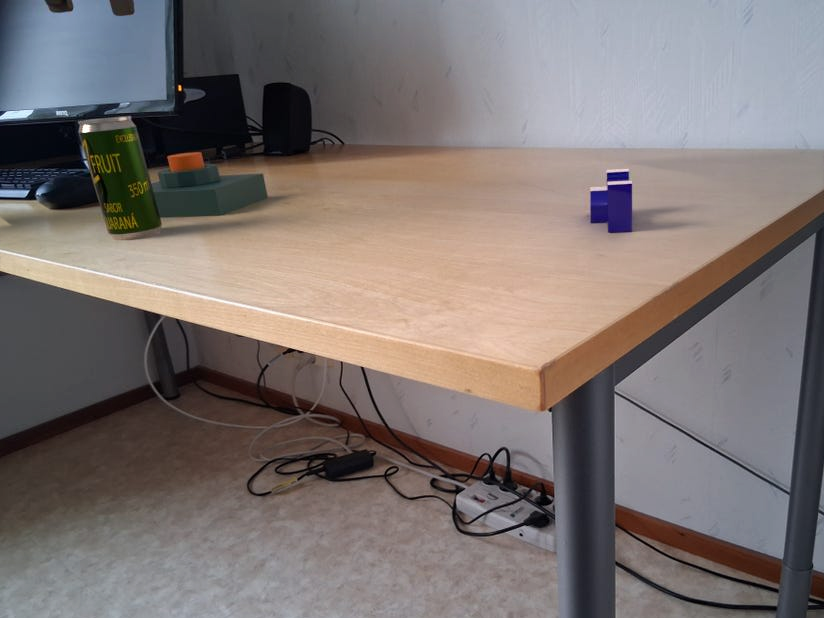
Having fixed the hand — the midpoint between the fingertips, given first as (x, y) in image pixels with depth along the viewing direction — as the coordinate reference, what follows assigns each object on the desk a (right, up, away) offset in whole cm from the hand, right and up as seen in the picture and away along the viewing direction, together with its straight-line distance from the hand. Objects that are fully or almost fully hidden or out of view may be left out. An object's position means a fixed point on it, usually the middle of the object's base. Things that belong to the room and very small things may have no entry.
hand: (95, 13), depth 69 cm
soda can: (+1, -21, +6) cm, 22 cm away
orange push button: (+2, -11, +18) cm, 21 cm away
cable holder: (+50, -22, -6) cm, 55 cm away
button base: (+2, -15, +20) cm, 25 cm away
